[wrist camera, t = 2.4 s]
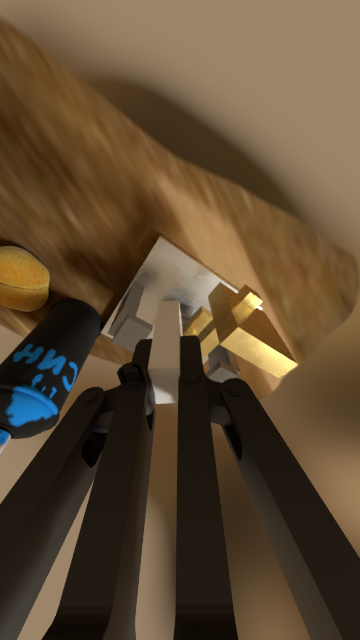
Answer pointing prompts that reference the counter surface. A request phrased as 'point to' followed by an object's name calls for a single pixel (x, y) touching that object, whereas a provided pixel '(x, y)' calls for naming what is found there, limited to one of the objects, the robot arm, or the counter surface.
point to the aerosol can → (45, 369)
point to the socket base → (169, 285)
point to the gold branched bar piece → (240, 329)
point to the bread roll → (22, 280)
